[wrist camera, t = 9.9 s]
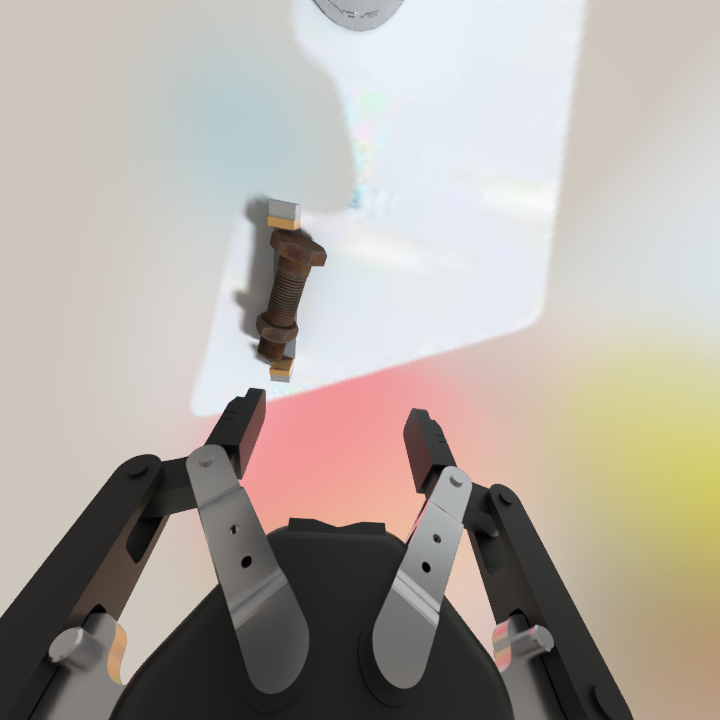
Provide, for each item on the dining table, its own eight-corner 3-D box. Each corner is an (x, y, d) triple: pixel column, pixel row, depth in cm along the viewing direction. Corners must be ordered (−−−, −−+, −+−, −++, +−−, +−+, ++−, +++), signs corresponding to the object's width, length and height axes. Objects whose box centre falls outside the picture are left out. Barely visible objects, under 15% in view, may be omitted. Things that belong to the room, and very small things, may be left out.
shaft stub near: (276, 199, 26) (267, 199, 23) (300, 204, 27) (294, 204, 24) (276, 223, 27) (267, 225, 24) (299, 227, 28) (293, 230, 25)
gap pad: (274, 224, 27) (274, 224, 27) (301, 229, 28) (300, 229, 28) (274, 355, 36) (274, 356, 36) (294, 357, 36) (294, 358, 36)
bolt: (271, 340, 36) (300, 232, 29) (298, 359, 35) (335, 252, 28) (237, 351, 31) (261, 226, 24) (267, 374, 30) (302, 250, 23)
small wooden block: (275, 355, 36) (269, 369, 33) (293, 357, 36) (289, 371, 33) (275, 368, 37) (269, 382, 34) (293, 370, 37) (288, 384, 34)
